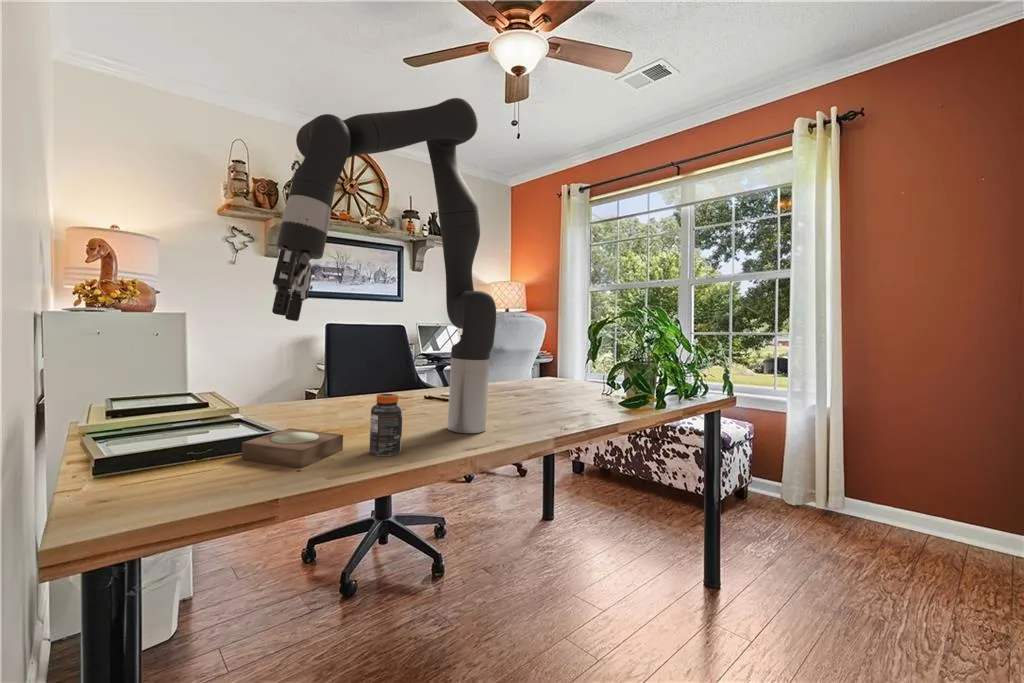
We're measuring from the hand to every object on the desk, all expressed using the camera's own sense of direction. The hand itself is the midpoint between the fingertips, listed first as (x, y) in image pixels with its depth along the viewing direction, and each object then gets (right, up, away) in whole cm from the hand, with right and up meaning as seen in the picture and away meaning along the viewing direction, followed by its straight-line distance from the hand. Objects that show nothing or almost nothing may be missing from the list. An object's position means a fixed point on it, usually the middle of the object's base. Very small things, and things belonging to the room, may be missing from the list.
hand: (285, 317), depth 82 cm
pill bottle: (+15, -26, +10) cm, 31 cm away
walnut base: (-1, -25, +5) cm, 25 cm away
